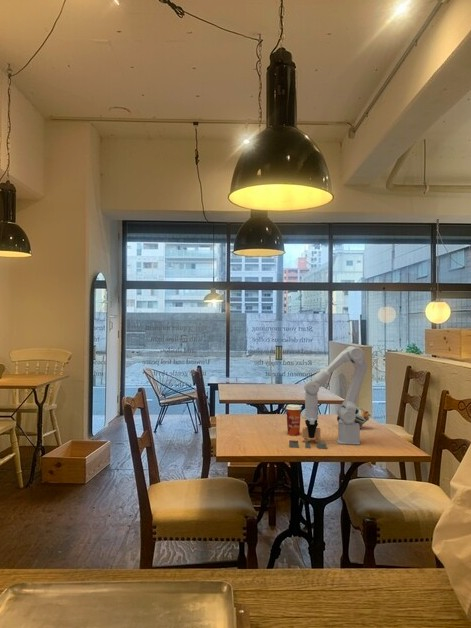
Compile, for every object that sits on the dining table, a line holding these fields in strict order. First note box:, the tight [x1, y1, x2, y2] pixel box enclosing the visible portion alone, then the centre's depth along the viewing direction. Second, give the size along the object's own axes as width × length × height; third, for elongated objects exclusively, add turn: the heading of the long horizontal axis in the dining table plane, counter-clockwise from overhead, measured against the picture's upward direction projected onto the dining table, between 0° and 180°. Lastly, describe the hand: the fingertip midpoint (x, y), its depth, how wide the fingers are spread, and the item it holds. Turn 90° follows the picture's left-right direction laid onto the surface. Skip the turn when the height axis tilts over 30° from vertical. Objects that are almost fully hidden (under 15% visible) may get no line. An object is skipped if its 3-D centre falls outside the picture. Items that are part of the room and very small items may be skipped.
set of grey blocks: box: [288, 439, 327, 450], centre depth 190 cm, size 16×4×2 cm, turn 82°
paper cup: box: [285, 404, 302, 437], centre depth 213 cm, size 8×8×14 cm
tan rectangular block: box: [302, 426, 321, 443], centre depth 198 cm, size 8×3×6 cm, turn 82°
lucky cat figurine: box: [336, 406, 372, 427], centre depth 228 cm, size 15×12×14 cm
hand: (311, 437), depth 198 cm, fingers closed on tan rectangular block, 3 cm apart
